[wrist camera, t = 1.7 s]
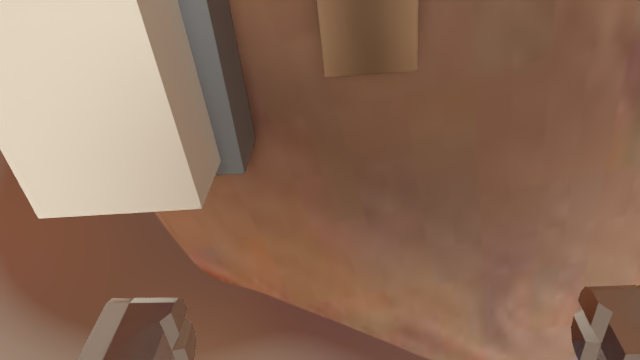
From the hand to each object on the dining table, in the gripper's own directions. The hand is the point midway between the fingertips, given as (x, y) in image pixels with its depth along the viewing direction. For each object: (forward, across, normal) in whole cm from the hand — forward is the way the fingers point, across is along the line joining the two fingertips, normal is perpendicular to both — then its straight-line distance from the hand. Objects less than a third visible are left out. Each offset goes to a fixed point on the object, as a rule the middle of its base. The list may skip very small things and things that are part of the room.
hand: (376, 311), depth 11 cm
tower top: (+20, +15, +2) cm, 25 cm away
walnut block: (+25, 0, 0) cm, 25 cm away
